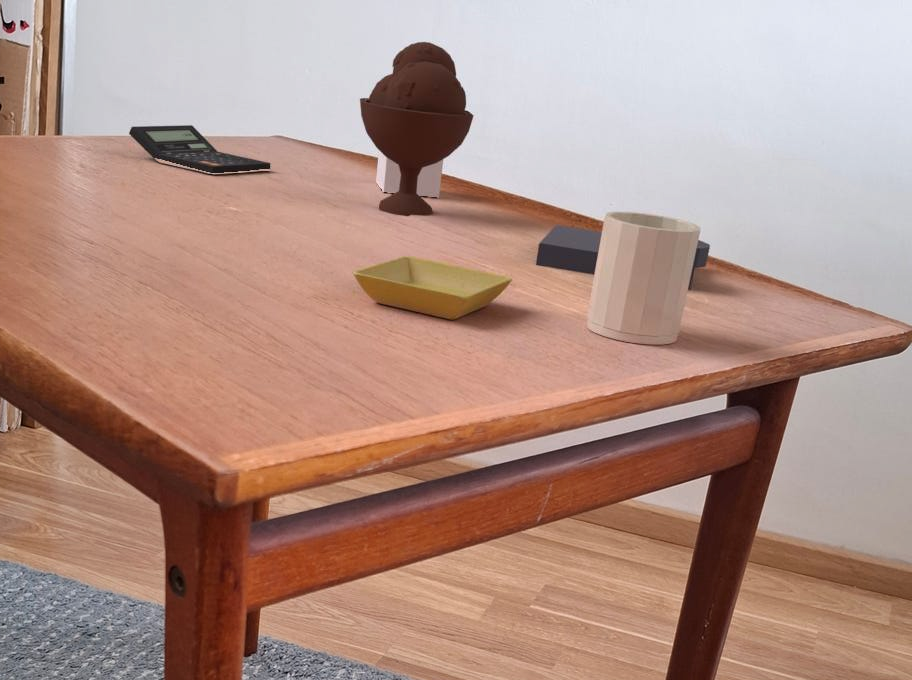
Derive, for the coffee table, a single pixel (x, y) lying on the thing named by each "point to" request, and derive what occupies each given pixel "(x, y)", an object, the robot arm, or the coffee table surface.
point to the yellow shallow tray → (430, 286)
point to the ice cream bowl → (416, 119)
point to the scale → (587, 250)
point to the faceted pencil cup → (642, 277)
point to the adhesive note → (391, 177)
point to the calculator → (190, 149)
